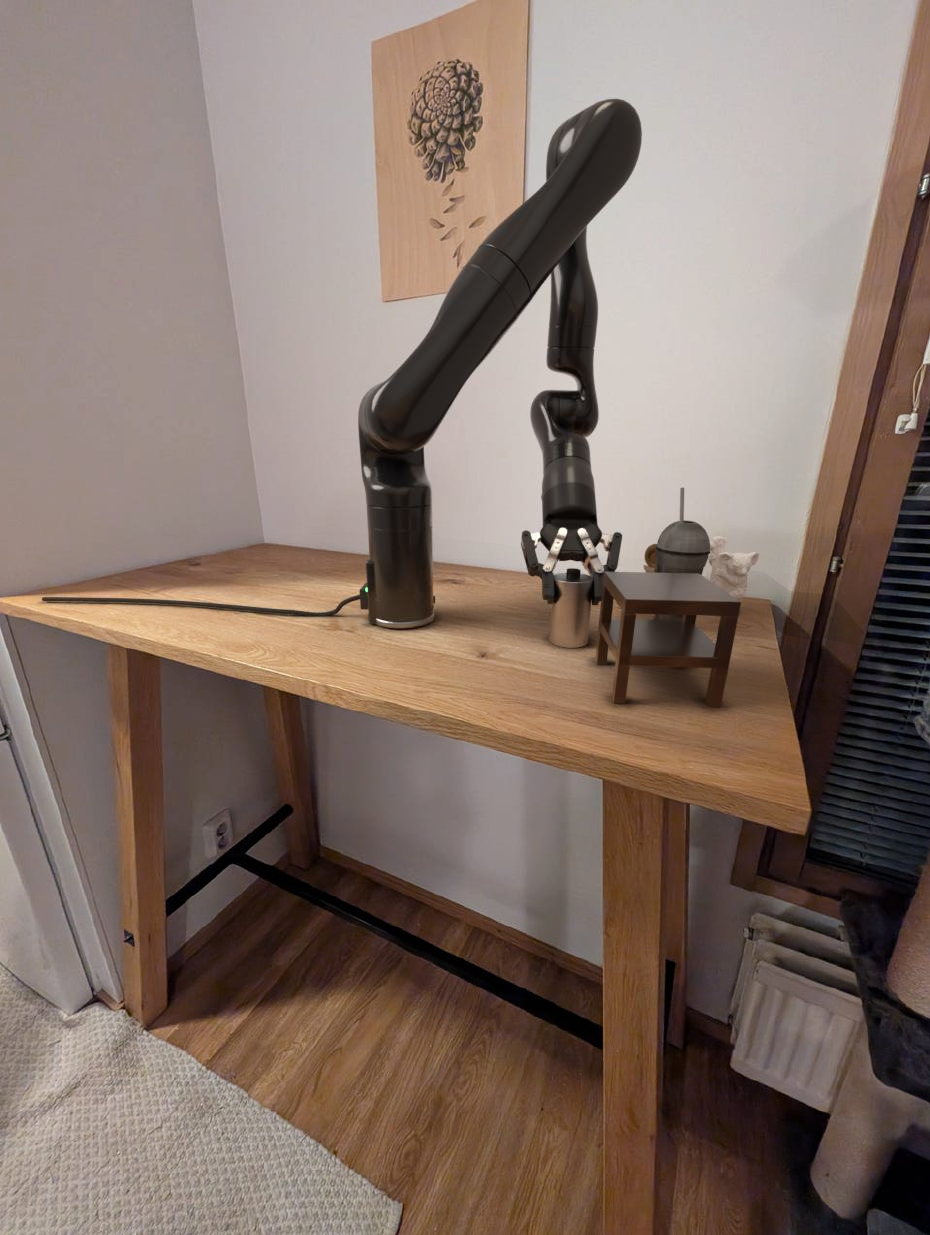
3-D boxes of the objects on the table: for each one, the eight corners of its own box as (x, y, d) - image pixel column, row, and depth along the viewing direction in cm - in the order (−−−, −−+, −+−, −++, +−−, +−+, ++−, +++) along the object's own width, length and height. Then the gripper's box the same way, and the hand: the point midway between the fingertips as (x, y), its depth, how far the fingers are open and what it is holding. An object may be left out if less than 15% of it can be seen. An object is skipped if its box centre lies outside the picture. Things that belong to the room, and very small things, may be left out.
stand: (613, 703, 54) (625, 599, 50) (595, 660, 64) (603, 571, 61) (721, 707, 54) (741, 601, 50) (684, 663, 64) (699, 573, 60)
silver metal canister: (551, 647, 68) (555, 574, 65) (547, 633, 73) (551, 564, 70) (590, 648, 68) (597, 575, 65) (584, 634, 73) (590, 565, 70)
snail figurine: (658, 615, 81) (669, 539, 77) (626, 604, 86) (635, 533, 82) (680, 609, 84) (692, 536, 80) (648, 599, 89) (657, 530, 85)
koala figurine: (689, 613, 82) (701, 538, 78) (690, 601, 88) (701, 531, 84) (749, 620, 79) (765, 543, 75) (745, 608, 85) (760, 535, 81)
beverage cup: (702, 637, 72) (727, 491, 66) (648, 632, 74) (667, 489, 67) (691, 620, 79) (713, 486, 73) (642, 616, 81) (659, 484, 74)
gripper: (519, 479, 71) (519, 587, 64) (625, 480, 71) (637, 589, 63) (516, 513, 78) (516, 613, 71) (613, 514, 77) (622, 616, 70)
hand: (573, 601), depth 67 cm, fingers closed on silver metal canister, 5 cm apart
